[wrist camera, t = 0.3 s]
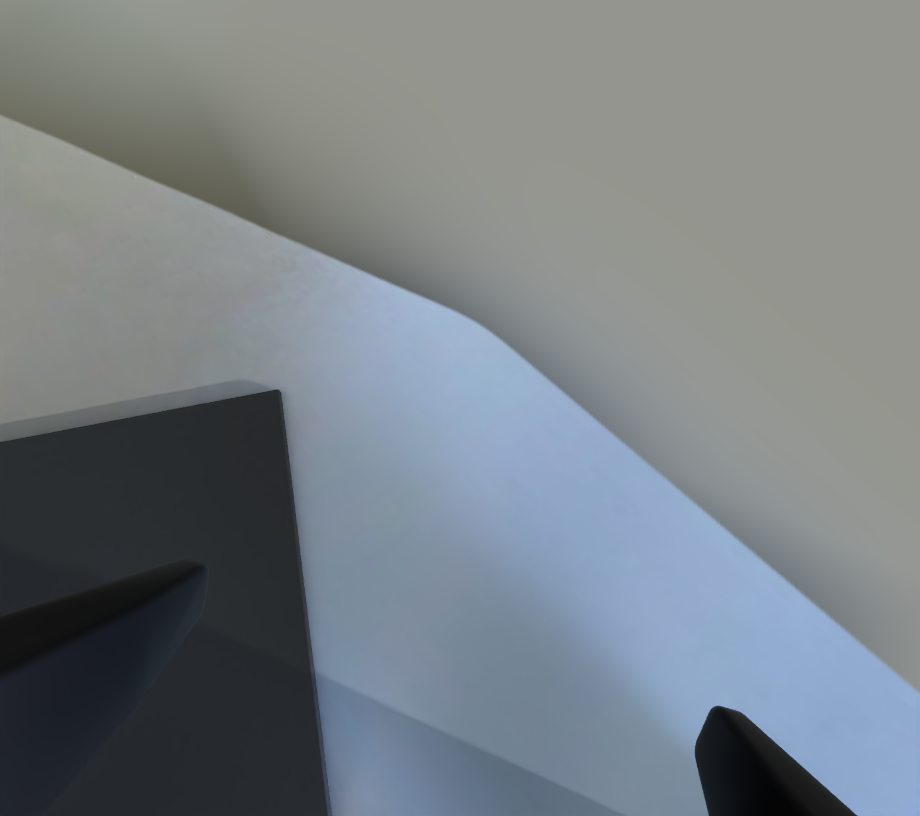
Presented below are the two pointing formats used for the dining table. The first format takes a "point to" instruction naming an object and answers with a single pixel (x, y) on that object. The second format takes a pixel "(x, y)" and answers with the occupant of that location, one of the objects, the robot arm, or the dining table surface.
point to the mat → (222, 621)
